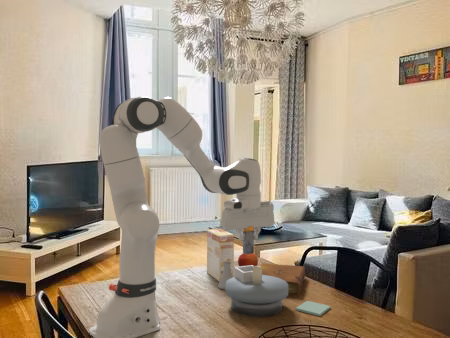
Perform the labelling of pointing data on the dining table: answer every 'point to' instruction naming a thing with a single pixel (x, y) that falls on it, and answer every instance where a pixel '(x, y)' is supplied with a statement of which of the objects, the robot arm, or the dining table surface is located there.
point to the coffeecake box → (219, 252)
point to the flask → (225, 275)
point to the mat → (313, 308)
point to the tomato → (247, 260)
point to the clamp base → (256, 308)
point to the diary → (286, 275)
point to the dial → (255, 286)
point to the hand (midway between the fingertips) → (248, 239)
